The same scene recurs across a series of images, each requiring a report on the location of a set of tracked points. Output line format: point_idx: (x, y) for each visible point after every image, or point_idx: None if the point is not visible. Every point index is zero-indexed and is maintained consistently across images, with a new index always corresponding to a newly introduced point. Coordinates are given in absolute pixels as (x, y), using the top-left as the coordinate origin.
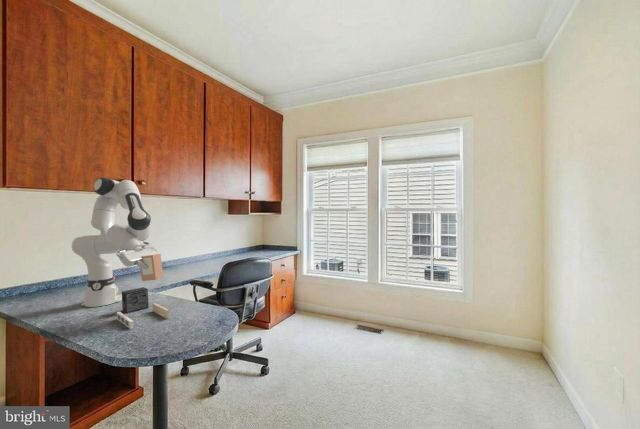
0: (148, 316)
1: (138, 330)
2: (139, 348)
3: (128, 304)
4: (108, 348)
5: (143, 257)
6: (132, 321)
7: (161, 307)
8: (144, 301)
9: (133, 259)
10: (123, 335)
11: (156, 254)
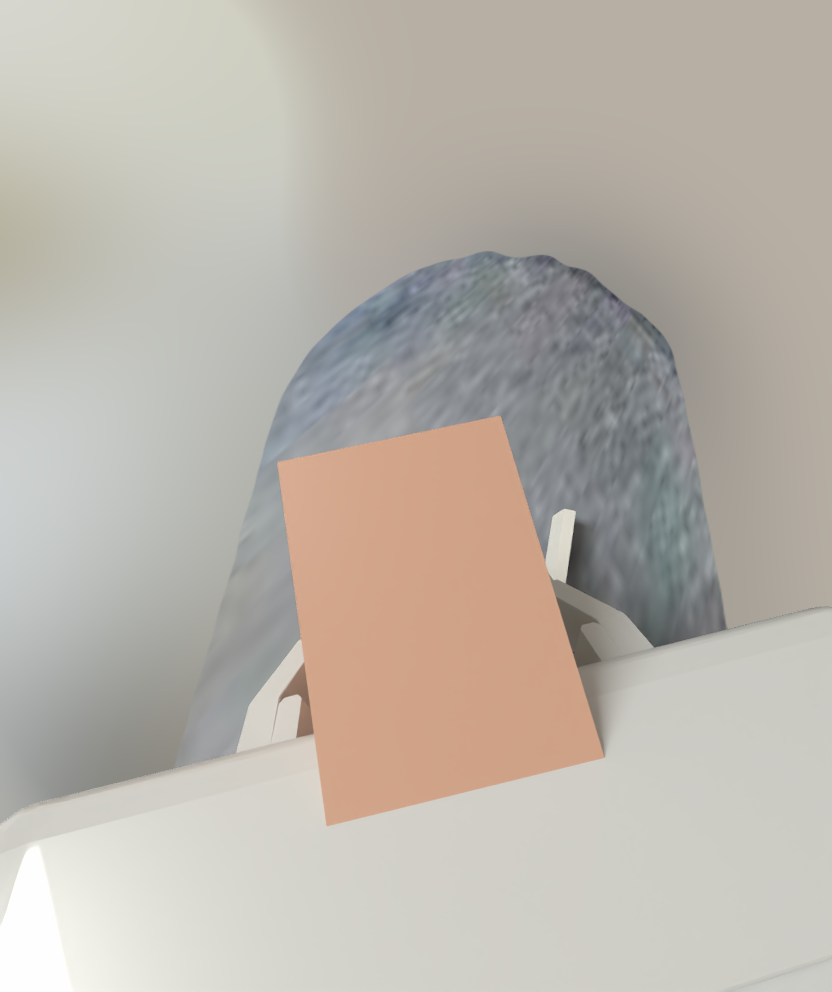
0: None
1: (553, 481)
2: (615, 362)
3: None
4: (668, 433)
5: (567, 666)
6: (567, 509)
7: None
8: None
9: (808, 645)
10: (601, 486)
11: (396, 439)
